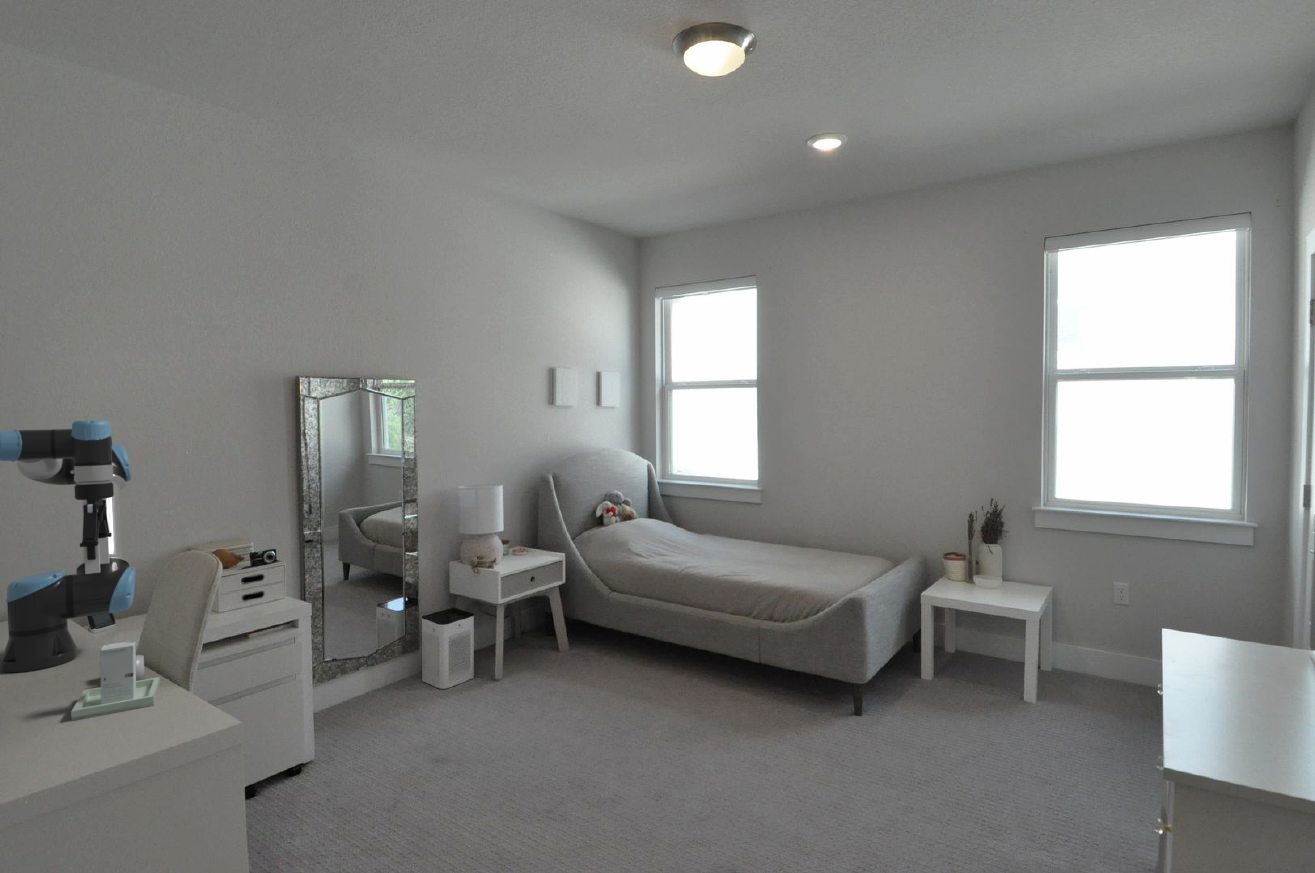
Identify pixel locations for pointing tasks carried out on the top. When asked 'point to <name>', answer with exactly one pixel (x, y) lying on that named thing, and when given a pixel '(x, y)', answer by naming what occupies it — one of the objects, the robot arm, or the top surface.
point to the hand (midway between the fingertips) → (97, 568)
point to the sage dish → (92, 704)
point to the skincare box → (118, 672)
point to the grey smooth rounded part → (140, 668)
